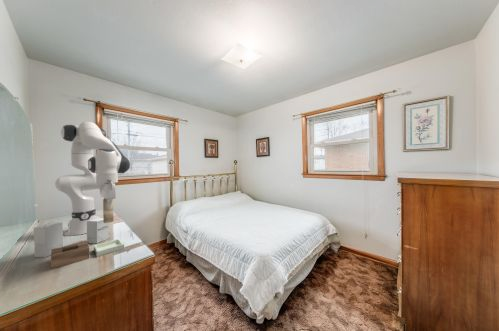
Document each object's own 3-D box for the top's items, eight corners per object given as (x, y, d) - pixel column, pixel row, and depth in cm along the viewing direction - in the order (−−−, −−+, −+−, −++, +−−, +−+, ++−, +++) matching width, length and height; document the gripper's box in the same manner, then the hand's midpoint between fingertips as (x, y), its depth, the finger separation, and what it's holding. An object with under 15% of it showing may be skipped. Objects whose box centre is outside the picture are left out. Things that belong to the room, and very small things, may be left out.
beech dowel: (102, 222, 91) (102, 198, 92) (112, 220, 94) (112, 197, 95) (104, 223, 89) (103, 199, 89) (114, 221, 92) (113, 198, 92)
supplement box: (96, 243, 99) (96, 221, 99) (86, 243, 101) (85, 220, 101) (109, 238, 107) (109, 217, 107) (99, 237, 108) (99, 217, 108)
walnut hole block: (51, 260, 82) (51, 249, 82) (86, 250, 91) (86, 240, 91) (51, 269, 74) (50, 257, 74) (89, 258, 83) (89, 247, 83)
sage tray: (94, 250, 91) (93, 245, 91) (119, 243, 99) (119, 238, 99) (97, 257, 84) (96, 251, 84) (124, 248, 92) (124, 244, 92)
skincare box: (53, 249, 93) (52, 221, 93) (64, 249, 93) (63, 221, 93) (33, 258, 85) (32, 227, 85) (45, 257, 85) (45, 226, 85)
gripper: (119, 179, 87) (120, 207, 87) (111, 178, 101) (111, 203, 101) (102, 180, 82) (103, 210, 82) (96, 179, 96) (97, 205, 96)
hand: (108, 206), depth 92 cm, fingers closed on beech dowel, 4 cm apart
